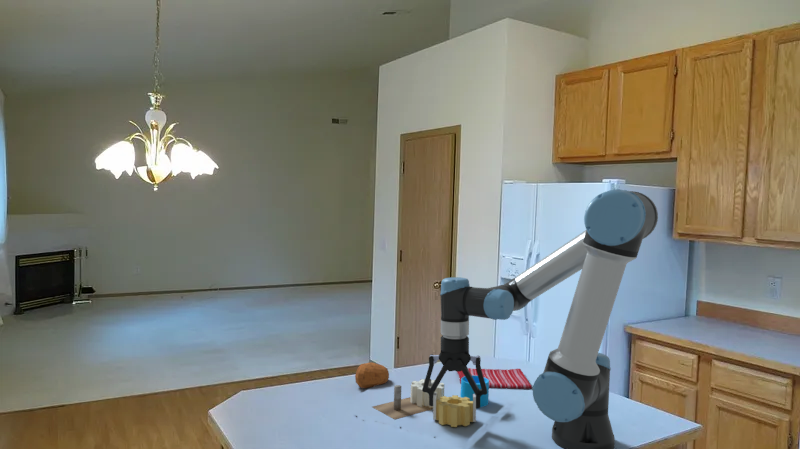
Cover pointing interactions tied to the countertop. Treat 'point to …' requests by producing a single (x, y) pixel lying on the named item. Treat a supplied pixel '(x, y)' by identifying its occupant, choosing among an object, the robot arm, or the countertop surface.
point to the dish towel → (502, 378)
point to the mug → (468, 391)
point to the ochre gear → (454, 411)
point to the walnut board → (401, 405)
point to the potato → (371, 375)
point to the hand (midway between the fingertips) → (454, 418)
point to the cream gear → (424, 393)
